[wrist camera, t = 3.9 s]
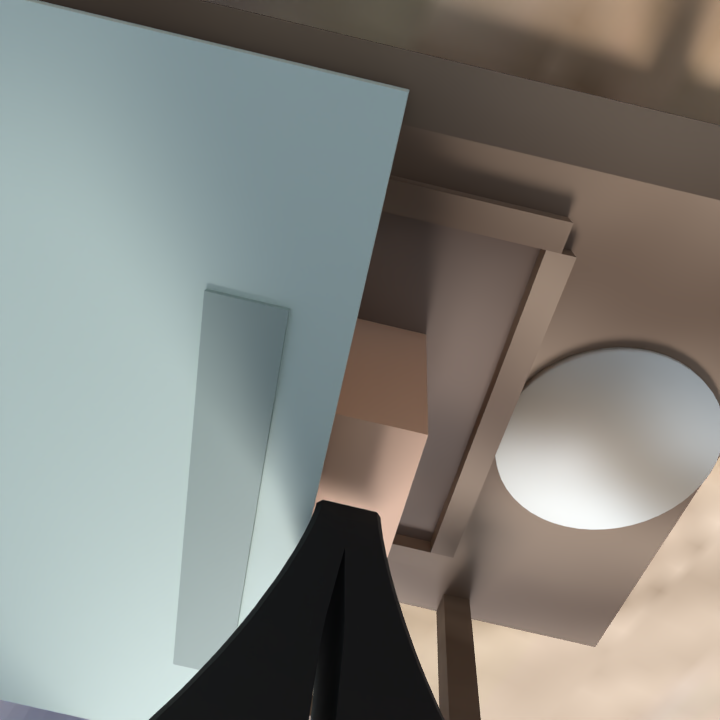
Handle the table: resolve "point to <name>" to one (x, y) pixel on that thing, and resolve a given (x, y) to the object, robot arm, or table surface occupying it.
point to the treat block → (378, 424)
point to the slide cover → (165, 339)
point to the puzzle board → (528, 329)
